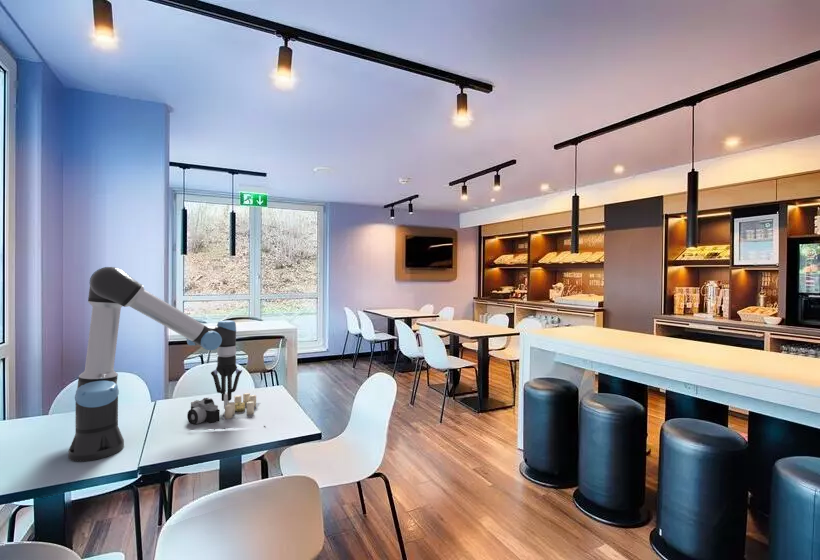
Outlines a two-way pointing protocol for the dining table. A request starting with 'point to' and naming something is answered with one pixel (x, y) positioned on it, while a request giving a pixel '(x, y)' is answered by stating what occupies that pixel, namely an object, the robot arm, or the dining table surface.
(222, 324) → the robot arm
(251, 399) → the board
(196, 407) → the camera
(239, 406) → the nut
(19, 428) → the dining table surface
